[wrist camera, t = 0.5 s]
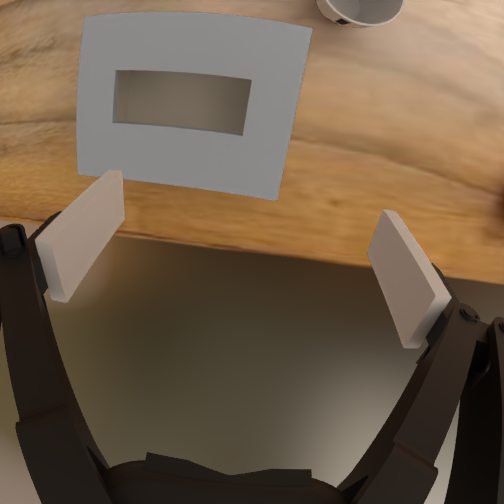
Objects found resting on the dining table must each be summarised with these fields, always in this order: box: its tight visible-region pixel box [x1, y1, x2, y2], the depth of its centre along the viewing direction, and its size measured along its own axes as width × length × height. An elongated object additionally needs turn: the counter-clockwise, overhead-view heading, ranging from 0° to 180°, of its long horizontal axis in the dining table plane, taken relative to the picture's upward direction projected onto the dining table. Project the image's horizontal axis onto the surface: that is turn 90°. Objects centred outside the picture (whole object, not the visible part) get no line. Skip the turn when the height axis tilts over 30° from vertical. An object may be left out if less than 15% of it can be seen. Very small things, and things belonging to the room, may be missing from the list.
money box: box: [77, 11, 313, 201], centre depth 29 cm, size 16×20×12 cm
